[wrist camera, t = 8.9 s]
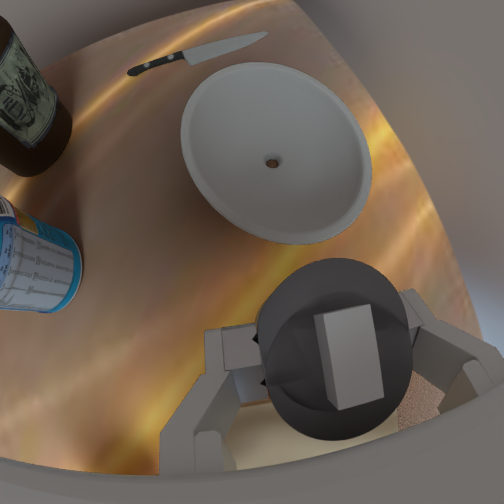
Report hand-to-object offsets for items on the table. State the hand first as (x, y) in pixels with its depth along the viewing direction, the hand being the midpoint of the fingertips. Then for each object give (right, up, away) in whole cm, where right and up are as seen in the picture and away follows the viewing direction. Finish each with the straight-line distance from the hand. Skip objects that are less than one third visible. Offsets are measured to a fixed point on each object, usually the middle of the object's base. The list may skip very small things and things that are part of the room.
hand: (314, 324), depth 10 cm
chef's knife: (-7, +25, +23) cm, 34 cm away
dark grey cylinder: (0, -2, +5) cm, 5 cm away
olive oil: (-26, +15, +20) cm, 36 cm away
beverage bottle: (-21, 0, +17) cm, 27 cm away
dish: (0, +10, +19) cm, 22 cm away
